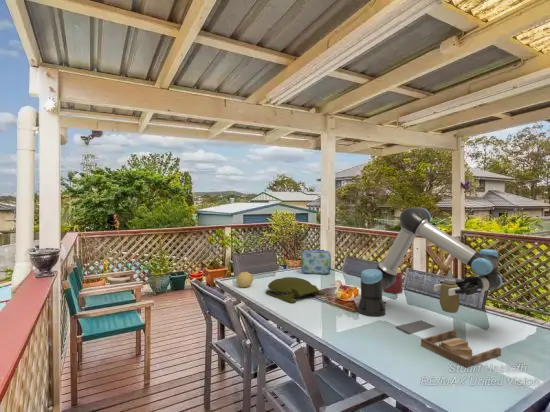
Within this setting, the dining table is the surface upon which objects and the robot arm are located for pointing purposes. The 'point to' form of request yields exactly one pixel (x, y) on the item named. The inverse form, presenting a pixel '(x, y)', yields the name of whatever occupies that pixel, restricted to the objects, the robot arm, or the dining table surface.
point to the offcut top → (454, 344)
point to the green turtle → (292, 288)
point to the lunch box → (316, 262)
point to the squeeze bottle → (447, 301)
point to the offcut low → (465, 355)
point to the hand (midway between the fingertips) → (441, 290)
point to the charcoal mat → (414, 327)
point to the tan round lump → (244, 279)
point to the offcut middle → (461, 350)
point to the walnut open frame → (454, 357)
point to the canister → (396, 284)
